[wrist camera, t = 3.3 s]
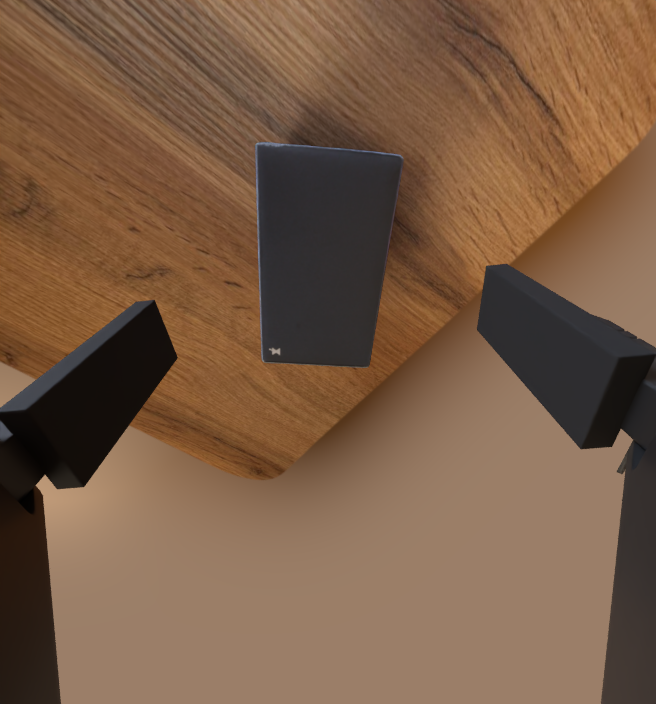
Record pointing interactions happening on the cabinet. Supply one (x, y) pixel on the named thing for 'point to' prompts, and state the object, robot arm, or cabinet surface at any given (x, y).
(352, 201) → the small box
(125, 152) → the cabinet surface
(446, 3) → the cabinet surface
